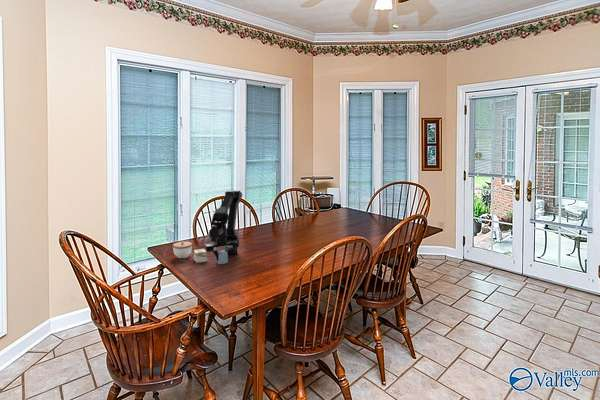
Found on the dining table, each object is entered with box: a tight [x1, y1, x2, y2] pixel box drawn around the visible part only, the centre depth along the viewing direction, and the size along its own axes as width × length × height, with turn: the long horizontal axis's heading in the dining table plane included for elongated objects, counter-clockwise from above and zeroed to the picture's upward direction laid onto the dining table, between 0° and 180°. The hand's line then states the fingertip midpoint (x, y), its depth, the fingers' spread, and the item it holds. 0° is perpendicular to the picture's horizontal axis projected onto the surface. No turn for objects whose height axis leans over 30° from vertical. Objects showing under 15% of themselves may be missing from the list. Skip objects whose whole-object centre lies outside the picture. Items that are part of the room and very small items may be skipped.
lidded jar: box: [172, 241, 193, 259], centre depth 212 cm, size 11×11×9 cm
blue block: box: [215, 249, 229, 265], centre depth 204 cm, size 5×5×6 cm
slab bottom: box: [193, 255, 208, 264], centre depth 207 cm, size 6×6×3 cm
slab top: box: [193, 248, 208, 258], centre depth 207 cm, size 6×6×3 cm
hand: (221, 260), depth 205 cm, fingers closed on blue block, 5 cm apart
